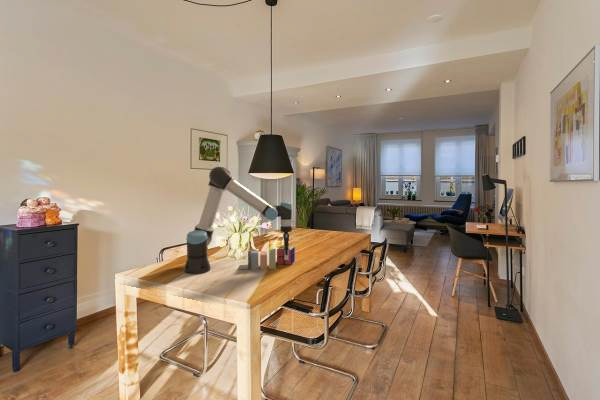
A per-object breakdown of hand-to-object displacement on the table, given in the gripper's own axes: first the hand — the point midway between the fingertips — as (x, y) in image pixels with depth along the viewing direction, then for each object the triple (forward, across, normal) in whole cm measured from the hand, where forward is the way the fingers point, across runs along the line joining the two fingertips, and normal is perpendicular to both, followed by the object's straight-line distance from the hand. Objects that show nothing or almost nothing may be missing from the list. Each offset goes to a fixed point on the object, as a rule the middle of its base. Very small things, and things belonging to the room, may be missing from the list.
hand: (286, 257), depth 214 cm
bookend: (+3, -11, +26) cm, 29 cm away
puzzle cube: (+4, 0, 0) cm, 4 cm away
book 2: (+4, -11, +15) cm, 19 cm away
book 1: (+3, -11, +20) cm, 23 cm away
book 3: (+4, -11, +9) cm, 15 cm away
